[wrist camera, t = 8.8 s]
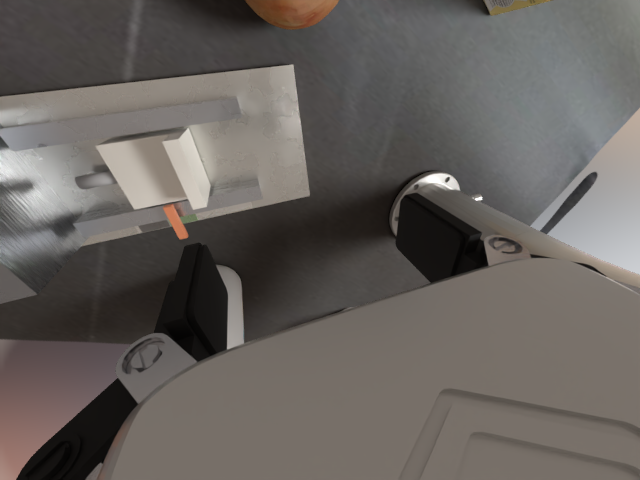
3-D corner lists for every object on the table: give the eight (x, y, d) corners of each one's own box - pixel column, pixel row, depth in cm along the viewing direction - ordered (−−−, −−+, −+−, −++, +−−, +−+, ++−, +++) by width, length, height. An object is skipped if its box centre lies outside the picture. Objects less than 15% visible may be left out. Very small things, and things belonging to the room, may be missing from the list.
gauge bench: (290, 64, 24) (320, 58, 16) (308, 192, 32) (333, 230, 24) (-55, 103, 19) (-264, 120, 11) (70, 244, 27) (3, 314, 19)
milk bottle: (172, 277, 33) (118, 460, 17) (224, 254, 33) (218, 411, 18) (205, 308, 38) (187, 474, 22) (250, 287, 38) (264, 435, 22)
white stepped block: (188, 127, 23) (178, 139, 19) (222, 216, 29) (220, 241, 25) (65, 146, 21) (21, 163, 17) (128, 237, 27) (108, 268, 23)
